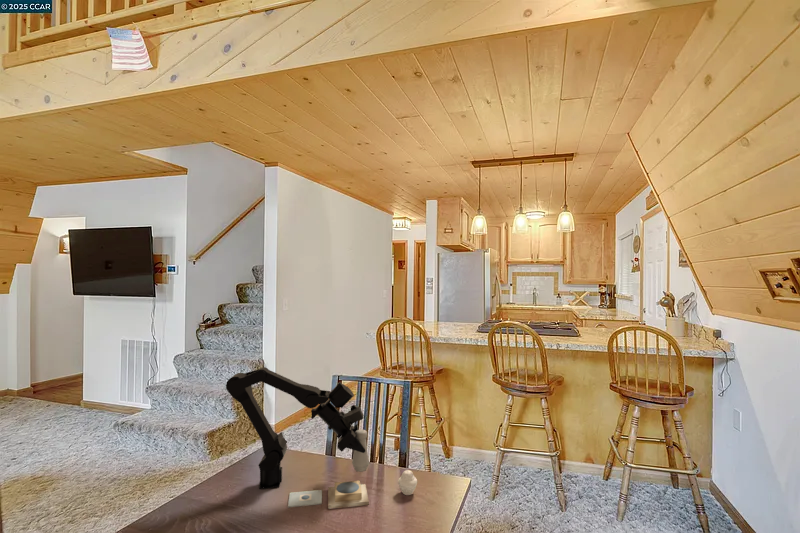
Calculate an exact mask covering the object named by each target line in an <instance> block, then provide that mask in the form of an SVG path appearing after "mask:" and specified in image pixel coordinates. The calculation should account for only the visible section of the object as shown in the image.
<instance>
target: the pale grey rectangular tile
mask: <svg viewBox="0 0 800 533" xmlns="http://www.w3.org/2000/svg"><path fill="white" fill-rule="evenodd" d="M322 504H323V490H322V489H316V490H307V491H306V490H305V491H295V492H294V491H293V492H289V496H288V502H287V508H297V507H305V506H306V507H307V506H315V505H316V506H317V505H322Z"/></svg>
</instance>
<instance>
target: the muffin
mask: <svg viewBox="0 0 800 533" xmlns="http://www.w3.org/2000/svg"><path fill="white" fill-rule="evenodd" d="M397 484H398V487H399V489H400V491H401V492H402V494H403V495H404V496H405V495H406V496H410V495H413V493H414V491H416V490H415V489H416V488H417V484H418V479H417V477H416V476H415V475H414V473H413V471H412V470H408V469H406V470H404V471H402V474H401V476H400V477H399V478H398V480H397Z"/></svg>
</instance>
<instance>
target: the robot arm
mask: <svg viewBox="0 0 800 533" xmlns="http://www.w3.org/2000/svg"><path fill="white" fill-rule="evenodd" d="M261 382H262V383H264V384H266V385H268V386H270V387H272V388H275V389H277V390H279V391H281V392H282V393H283V392H284V393H286V394H287V395H290V396H292V397H293V398H295V399H296V400H297V402H298V403H300V404H301V405H303V406H304V407H305V408H307V409H311V419H312V420H313V419H314V418H316V417H317V416H318V417H319V418H320V419H321V420H322V421H323V422H324V423H325V424H326V425H327V428H328V430H329V431H330V430H332V431H333V432H334V433H335V434H336V438H337V445H336V447H337V449H338V450H339V451H340V452H343V451H344V450H345V449H348V450H353V451H354V450H356V451H359V452H362V453H364V452H365V451H366V450H365V448H364V447H363V446H362V444H361V443H360V441H359V440H358V439H357V432H356V431H357V430H359V429H358V427H359V426H358V423H357V422H359V421H362V420H363V419H364V417H365V416H364V413H363V410H362V408H361V407H360V406H357V405H356V404H353V405H350V410H348V411H347V412H346V413H345V412H344V411H342V410H341V411H339V410H338V409H340V408H341V409H342V408H344V407H345V406H346V405H347V403H349V402H350V400H352V398H353V397H355V395H354V392H353V391H352V390H351V388H350V387H349V386H346V385H345V384H344V383H342V382H341V381H339V382H338V383H337V384H336V386H335V387H334V388H333V389H331V390H330V391H329V390H325V389H323V390H322V389H320V388H319V387H317V386H313V385H309V384H303V383H298V382H296V381H294V380H293V379H290V378H288V377H285V376H283V375H281V374H280V373H276V372H275V371H272V370H270V369H268V368H267V367H265V366H264V367H260V368H258V369H256V370H255V369H254V370H251V371H249V372H246V373H243V372H237V373H235V374H234V375H233V376H231V377H230V378H229V379H228V380H227V382H226V383H225V389H226V391H227V393H229V395H230V396H231V397H232V398H233V399H235V401H237V402H238V403H239V404H240V405H241V407H242V408H243V410H244V412H245V414H246V415H247V417H248V419H249V420H250V423H251V424H252V426H253V428H254V430H255V431H256V433H257V435H258V437H259V438H260V442H261V444H262V451H263V457H262V458H261V460H260V462H259V463H258V468H259V486H258V489H259V490H262V489H273V488H279V487H280V486H281V483H282V481H283V466H281V463H282V461H283V459H284V457H285V455H286V452H287V450H288V445H287V444H288V440H286V438H284V437H285V436H284V435H283V432H282V431H281V432H279V433H277V432H275V431H274V429H273V428H272V426H271V424H270V423H269V421H268V418H267V417H266V415H265V414H264V412H263V410H262V408H261V406H260V405H259V403H258V401H257V400H256V398H255V396H254V393H253V387H252V386H253V385H256V384H258V383H261ZM355 423H356V424H355ZM353 424H355V425H353ZM355 432H356V433H355Z"/></svg>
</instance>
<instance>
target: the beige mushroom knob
mask: <svg viewBox="0 0 800 533" xmlns="http://www.w3.org/2000/svg"><path fill="white" fill-rule="evenodd" d="M356 432H357V439H358V440H359V441H360V443H361V444H362V446H363V447H364V448H365V450H366V451H365V452H364V453H362V452H359V451H356V450H353V455H352V460H351V464H352V466H353V469H354V471H355V472H357V473H363V472H365V471H367V469H368V467H369V465H370V458H369V452H368V447H367V440H366V439H367V438H368V431H367V430H365V429H361V428H360V429H357V431H356ZM356 432H355V433H356Z"/></svg>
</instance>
